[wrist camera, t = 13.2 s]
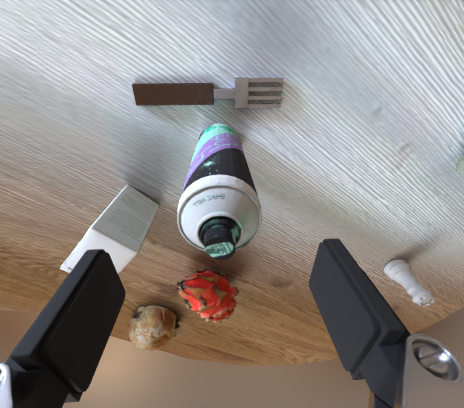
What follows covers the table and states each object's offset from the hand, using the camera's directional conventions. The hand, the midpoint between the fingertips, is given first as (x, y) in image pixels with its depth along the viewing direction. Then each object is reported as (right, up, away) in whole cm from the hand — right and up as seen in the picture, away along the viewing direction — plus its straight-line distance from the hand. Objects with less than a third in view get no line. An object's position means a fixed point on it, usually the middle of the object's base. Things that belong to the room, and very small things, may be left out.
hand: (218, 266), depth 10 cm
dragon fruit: (-4, -11, +32) cm, 34 cm away
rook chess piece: (+33, -9, +33) cm, 48 cm away
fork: (-2, +16, +15) cm, 22 cm away
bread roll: (-16, -22, +38) cm, 46 cm away
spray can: (-1, +11, +19) cm, 22 cm away
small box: (-15, +2, +23) cm, 28 cm away
